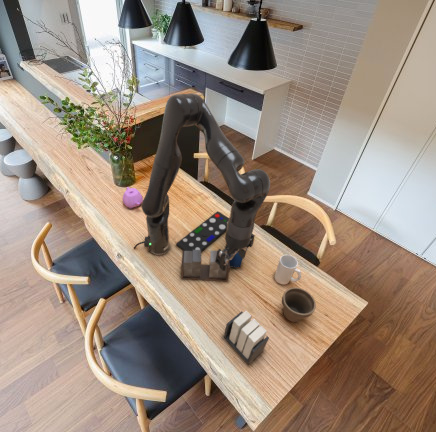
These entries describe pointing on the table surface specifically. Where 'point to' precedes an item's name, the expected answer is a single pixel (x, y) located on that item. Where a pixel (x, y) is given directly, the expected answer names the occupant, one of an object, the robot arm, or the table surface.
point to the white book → (239, 326)
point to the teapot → (132, 198)
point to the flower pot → (297, 304)
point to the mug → (287, 270)
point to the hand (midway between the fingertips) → (232, 262)
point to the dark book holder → (248, 339)
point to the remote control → (205, 233)
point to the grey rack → (202, 267)
